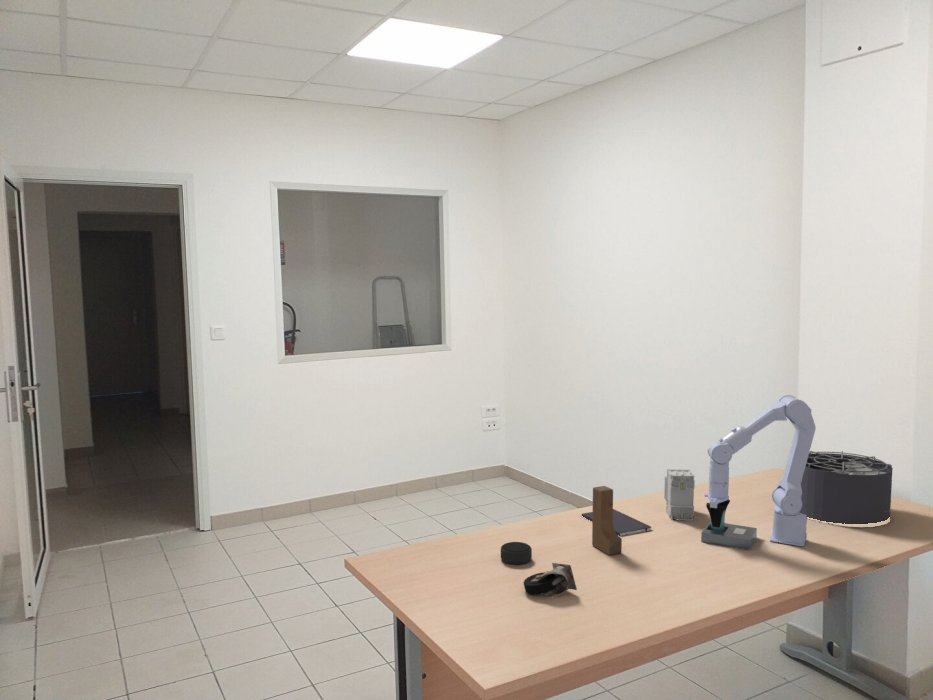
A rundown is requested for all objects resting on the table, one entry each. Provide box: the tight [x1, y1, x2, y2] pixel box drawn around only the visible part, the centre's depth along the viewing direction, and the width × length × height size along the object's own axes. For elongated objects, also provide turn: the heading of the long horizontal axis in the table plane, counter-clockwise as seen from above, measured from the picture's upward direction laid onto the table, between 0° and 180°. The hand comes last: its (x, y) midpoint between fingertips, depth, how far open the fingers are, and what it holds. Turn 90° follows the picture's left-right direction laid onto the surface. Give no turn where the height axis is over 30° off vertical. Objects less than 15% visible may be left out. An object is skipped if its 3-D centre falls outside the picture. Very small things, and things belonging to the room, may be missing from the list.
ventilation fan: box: [799, 450, 893, 524], centre depth 249 cm, size 30×18×30 cm
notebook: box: [581, 508, 652, 537], centre depth 241 cm, size 13×2×21 cm
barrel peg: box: [711, 510, 726, 531], centre depth 227 cm, size 4×4×6 cm
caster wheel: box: [523, 562, 578, 598], centre depth 188 cm, size 7×11×10 cm
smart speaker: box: [500, 541, 533, 565], centre depth 211 cm, size 9×9×4 cm
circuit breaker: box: [663, 468, 696, 521], centre depth 250 cm, size 8×14×15 cm, turn 174°
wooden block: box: [591, 485, 623, 556], centre depth 217 cm, size 9×4×18 cm, turn 24°
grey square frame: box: [700, 520, 758, 550], centre depth 225 cm, size 14×12×3 cm
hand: (717, 524), depth 227 cm, fingers closed on barrel peg, 4 cm apart
